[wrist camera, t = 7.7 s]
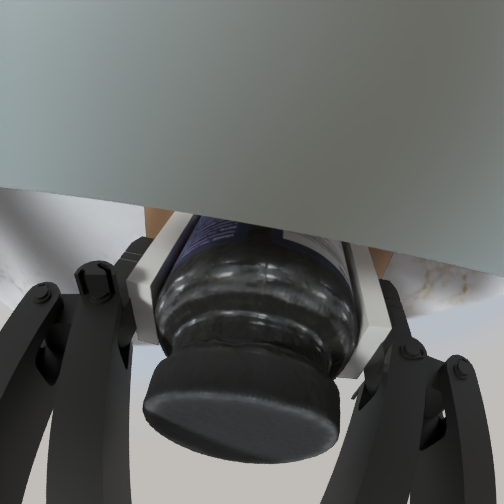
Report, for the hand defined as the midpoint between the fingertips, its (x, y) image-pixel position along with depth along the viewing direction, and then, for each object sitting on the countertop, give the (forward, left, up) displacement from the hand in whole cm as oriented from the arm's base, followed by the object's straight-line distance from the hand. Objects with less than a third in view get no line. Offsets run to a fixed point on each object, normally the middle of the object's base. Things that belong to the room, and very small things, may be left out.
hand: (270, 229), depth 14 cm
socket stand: (0, +3, -5) cm, 6 cm away
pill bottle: (0, 0, -2) cm, 2 cm away
